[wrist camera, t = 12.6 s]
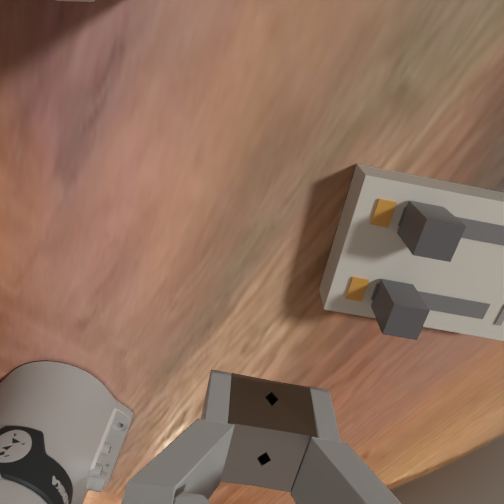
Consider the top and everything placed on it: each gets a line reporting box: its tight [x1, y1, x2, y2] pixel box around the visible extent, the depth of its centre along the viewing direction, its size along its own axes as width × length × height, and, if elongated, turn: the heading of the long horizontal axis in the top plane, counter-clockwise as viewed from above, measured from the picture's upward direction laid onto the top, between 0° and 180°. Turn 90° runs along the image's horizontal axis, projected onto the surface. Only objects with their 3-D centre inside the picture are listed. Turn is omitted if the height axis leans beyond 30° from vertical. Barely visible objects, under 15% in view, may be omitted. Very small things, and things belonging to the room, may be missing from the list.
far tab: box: [371, 279, 430, 340], centre depth 40 cm, size 3×3×4 cm
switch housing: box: [319, 164, 504, 341], centre depth 42 cm, size 14×20×4 cm
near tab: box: [397, 200, 466, 262], centre depth 36 cm, size 3×3×4 cm
